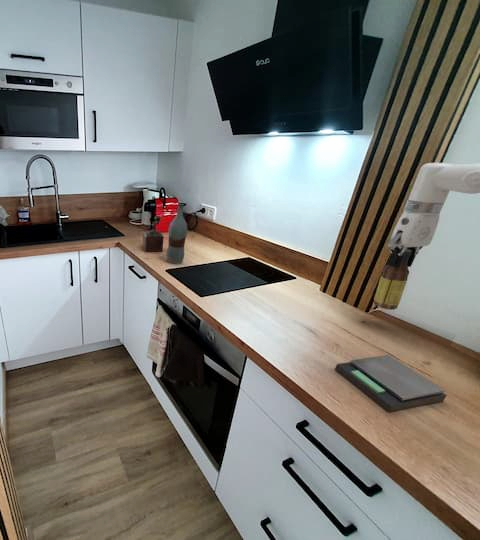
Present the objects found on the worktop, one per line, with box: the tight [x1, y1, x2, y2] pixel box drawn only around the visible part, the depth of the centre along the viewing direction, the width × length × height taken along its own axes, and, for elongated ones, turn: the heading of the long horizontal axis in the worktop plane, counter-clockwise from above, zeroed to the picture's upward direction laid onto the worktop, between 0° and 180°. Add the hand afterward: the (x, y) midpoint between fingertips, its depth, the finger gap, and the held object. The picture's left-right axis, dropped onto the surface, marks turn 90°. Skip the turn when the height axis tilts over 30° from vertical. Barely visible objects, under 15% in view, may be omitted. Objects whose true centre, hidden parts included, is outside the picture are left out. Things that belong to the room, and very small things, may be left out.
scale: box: [334, 361, 448, 413], centre depth 73 cm, size 17×14×3 cm
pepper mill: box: [142, 215, 165, 253], centre depth 166 cm, size 16×11×18 cm
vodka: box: [165, 203, 188, 265], centre depth 144 cm, size 9×9×30 cm
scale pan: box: [349, 354, 446, 401], centre depth 73 cm, size 13×13×1 cm
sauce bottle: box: [373, 247, 412, 311], centre depth 92 cm, size 6×6×20 cm
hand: (398, 265), depth 90 cm, fingers closed on sauce bottle, 4 cm apart
